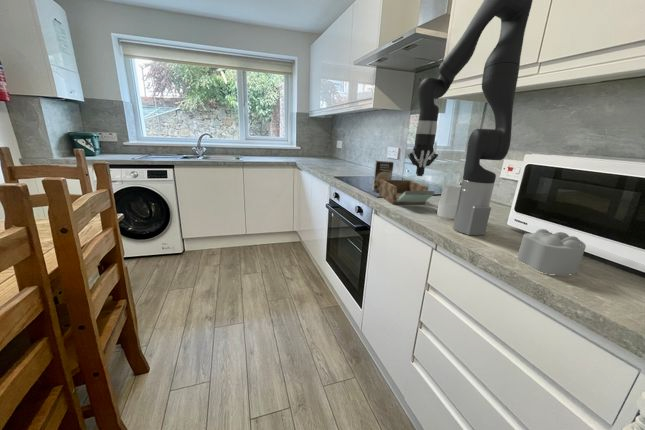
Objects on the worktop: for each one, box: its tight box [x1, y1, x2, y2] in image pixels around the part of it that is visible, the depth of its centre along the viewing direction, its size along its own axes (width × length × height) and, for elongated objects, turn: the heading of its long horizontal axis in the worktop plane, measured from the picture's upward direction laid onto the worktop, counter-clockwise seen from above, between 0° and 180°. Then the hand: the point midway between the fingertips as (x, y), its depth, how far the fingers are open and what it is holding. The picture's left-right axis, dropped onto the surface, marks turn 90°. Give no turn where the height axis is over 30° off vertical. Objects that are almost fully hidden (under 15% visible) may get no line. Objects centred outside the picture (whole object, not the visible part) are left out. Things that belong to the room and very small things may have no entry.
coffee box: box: [371, 160, 394, 193], centre depth 149 cm, size 9×6×16 cm
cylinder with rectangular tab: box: [436, 185, 461, 220], centre depth 109 cm, size 9×9×12 cm
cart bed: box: [378, 179, 429, 205], centre depth 133 cm, size 18×16×8 cm
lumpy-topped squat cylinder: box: [516, 228, 587, 275], centre depth 70 cm, size 10×13×9 cm
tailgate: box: [397, 190, 435, 202], centre depth 120 cm, size 1×13×9 cm
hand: (419, 175), depth 116 cm, fingers closed
